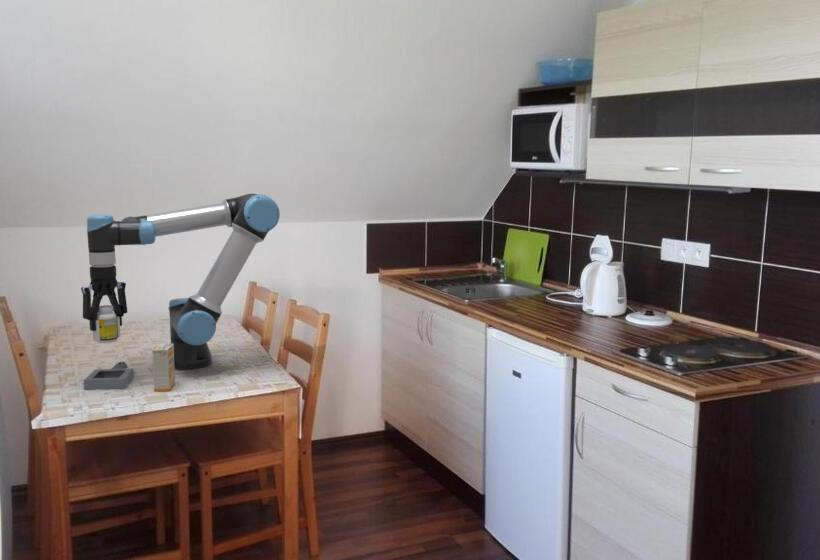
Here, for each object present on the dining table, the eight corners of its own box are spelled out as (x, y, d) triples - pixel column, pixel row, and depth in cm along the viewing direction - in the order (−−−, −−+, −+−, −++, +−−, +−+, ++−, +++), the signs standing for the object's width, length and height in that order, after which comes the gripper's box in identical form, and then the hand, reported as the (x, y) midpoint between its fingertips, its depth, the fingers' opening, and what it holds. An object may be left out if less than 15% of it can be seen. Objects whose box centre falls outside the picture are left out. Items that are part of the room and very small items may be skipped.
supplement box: (169, 391, 228) (167, 349, 225) (153, 391, 227) (151, 349, 225) (176, 383, 236) (174, 342, 234) (160, 383, 235) (158, 343, 233)
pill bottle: (93, 340, 233) (91, 306, 232) (113, 338, 237) (111, 303, 235) (100, 344, 229) (97, 309, 227) (120, 341, 232) (118, 307, 231)
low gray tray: (125, 389, 230) (124, 379, 229) (84, 391, 228) (83, 380, 228) (141, 370, 251) (140, 360, 251) (103, 371, 250) (103, 361, 249)
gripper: (124, 261, 239) (128, 331, 242) (66, 267, 224) (71, 342, 228) (137, 263, 234) (141, 334, 238) (79, 269, 219) (84, 346, 223)
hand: (107, 338), depth 233 cm, fingers closed on pill bottle, 6 cm apart
